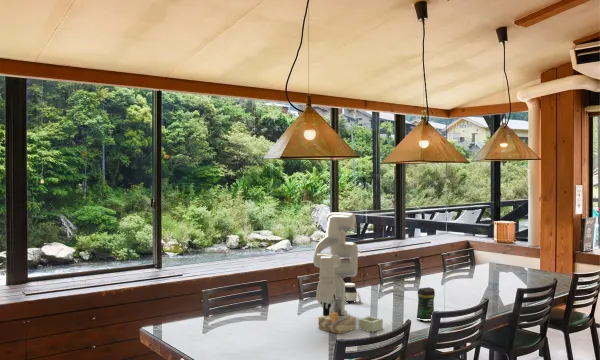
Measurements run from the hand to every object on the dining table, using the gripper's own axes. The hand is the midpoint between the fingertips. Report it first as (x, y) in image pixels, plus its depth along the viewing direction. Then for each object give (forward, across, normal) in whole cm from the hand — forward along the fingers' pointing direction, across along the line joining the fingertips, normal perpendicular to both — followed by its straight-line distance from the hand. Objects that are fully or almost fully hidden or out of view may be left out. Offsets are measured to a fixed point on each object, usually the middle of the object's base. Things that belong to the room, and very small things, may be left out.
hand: (326, 315), depth 252 cm
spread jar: (+9, -30, +63) cm, 70 cm away
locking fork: (+2, +2, +6) cm, 6 cm away
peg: (+9, 0, +10) cm, 13 cm away
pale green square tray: (+9, +13, +22) cm, 27 cm away
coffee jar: (+9, +26, +59) cm, 65 cm away
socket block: (+9, 0, +10) cm, 13 cm away
